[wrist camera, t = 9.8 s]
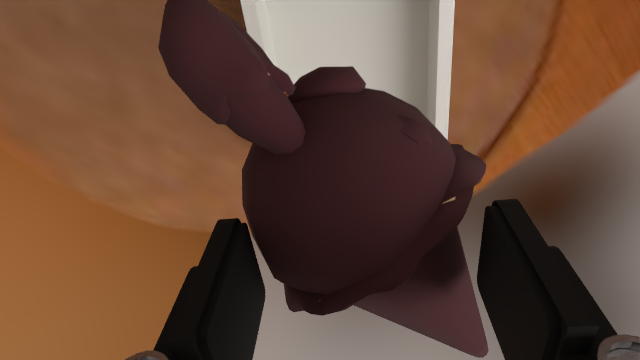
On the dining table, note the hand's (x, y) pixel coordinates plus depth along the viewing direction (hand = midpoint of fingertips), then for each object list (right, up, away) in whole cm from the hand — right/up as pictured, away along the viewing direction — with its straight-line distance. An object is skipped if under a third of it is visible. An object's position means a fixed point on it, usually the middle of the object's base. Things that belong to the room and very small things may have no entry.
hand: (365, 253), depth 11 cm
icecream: (0, +3, +4) cm, 5 cm away
